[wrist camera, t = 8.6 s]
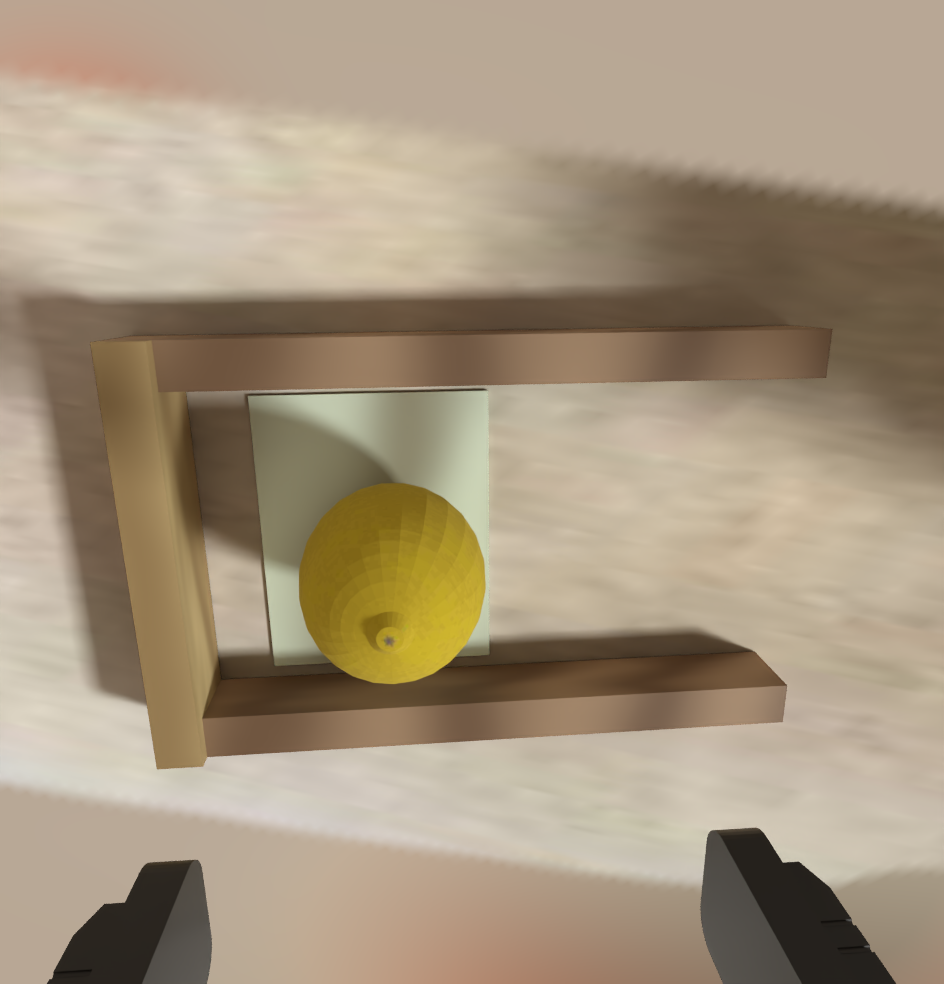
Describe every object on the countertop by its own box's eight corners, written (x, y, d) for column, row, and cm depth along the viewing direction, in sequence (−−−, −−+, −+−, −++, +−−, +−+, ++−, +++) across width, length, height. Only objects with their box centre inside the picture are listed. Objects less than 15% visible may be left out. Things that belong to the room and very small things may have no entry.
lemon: (287, 506, 24) (229, 605, 17) (426, 429, 24) (433, 494, 16) (368, 630, 26) (351, 773, 18) (500, 560, 26) (539, 674, 18)
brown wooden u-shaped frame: (790, 325, 24) (841, 329, 21) (750, 685, 28) (789, 730, 25) (130, 335, 23) (89, 342, 20) (184, 717, 26) (156, 769, 24)
